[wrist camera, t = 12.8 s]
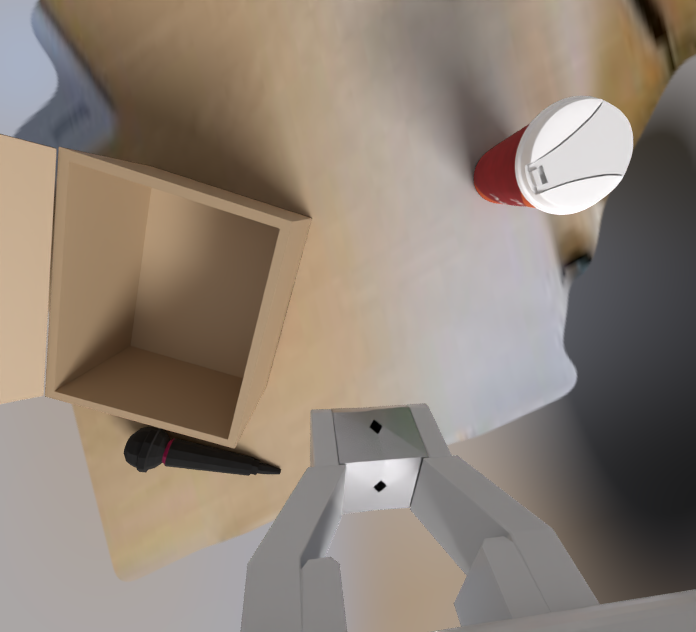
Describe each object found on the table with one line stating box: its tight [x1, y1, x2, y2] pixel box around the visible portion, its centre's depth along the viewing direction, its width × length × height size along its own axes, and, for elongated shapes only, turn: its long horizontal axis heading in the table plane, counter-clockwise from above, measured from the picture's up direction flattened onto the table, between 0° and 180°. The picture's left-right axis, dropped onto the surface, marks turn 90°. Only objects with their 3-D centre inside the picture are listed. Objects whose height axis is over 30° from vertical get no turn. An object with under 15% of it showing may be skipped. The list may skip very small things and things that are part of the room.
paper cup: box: [474, 96, 633, 215], centre depth 30 cm, size 8×8×14 cm
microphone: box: [124, 427, 281, 476], centre depth 46 cm, size 6×6×20 cm
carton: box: [45, 147, 312, 449], centre depth 35 cm, size 18×22×12 cm
